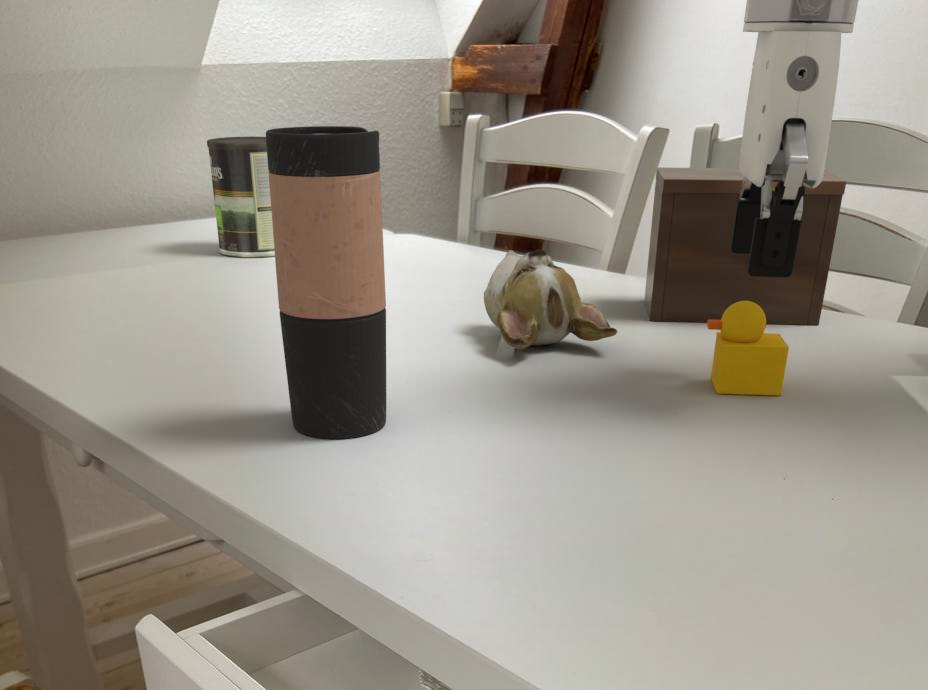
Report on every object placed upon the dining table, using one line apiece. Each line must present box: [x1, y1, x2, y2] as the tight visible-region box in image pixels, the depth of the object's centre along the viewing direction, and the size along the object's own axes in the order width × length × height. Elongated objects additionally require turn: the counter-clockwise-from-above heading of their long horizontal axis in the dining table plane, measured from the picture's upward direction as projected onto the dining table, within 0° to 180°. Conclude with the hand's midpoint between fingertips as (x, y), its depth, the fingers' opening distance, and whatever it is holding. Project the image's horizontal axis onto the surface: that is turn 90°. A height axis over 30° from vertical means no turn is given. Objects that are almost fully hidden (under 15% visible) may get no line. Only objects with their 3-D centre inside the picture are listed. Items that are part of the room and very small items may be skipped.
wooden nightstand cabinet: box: [644, 167, 847, 326], centre depth 104 cm, size 11×17×14 cm, turn 83°
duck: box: [706, 301, 790, 397], centre depth 83 cm, size 6×4×7 cm
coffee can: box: [206, 136, 275, 259], centre depth 137 cm, size 10×10×14 cm
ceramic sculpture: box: [483, 249, 618, 350], centre depth 95 cm, size 11×9×15 cm
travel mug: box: [265, 125, 387, 440], centre depth 71 cm, size 8×8×20 cm
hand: (758, 264), depth 79 cm, fingers open, 9 cm apart
